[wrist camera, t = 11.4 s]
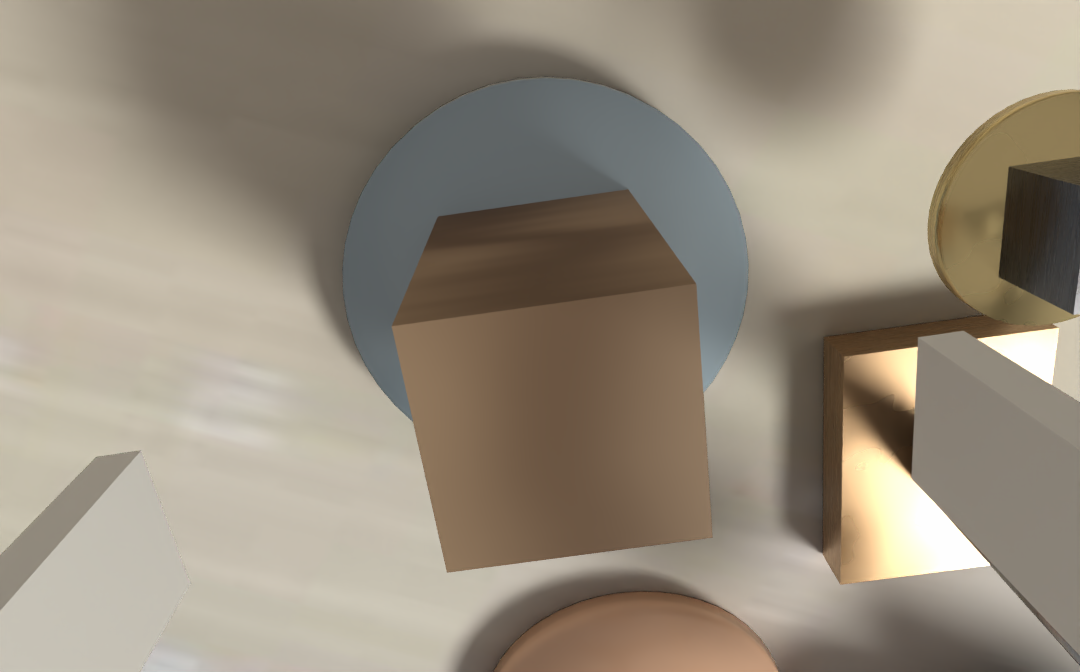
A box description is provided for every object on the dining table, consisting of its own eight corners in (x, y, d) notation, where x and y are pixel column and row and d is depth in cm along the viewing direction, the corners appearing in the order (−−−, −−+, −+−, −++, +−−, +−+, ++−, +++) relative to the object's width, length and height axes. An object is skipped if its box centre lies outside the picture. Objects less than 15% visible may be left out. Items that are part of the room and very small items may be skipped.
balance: (822, 707, 28) (1110, 1340, 15) (824, 94, 20) (1478, 225, 6) (984, 687, 28) (1427, 1306, 14) (1052, 61, 20) (2216, 124, 6)
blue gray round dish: (395, 468, 24) (389, 489, 23) (308, 108, 20) (296, 113, 19) (743, 421, 24) (754, 440, 23) (728, 47, 20) (740, 49, 19)
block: (470, 387, 22) (447, 572, 14) (437, 216, 20) (391, 326, 12) (644, 363, 22) (712, 537, 14) (627, 189, 20) (696, 284, 12)
